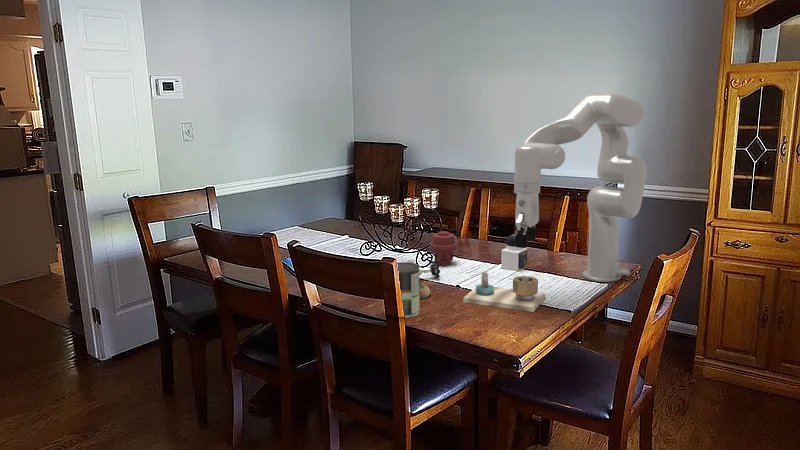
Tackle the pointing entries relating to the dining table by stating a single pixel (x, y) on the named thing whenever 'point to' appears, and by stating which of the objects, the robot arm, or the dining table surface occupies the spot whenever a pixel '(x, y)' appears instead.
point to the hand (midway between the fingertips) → (525, 243)
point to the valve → (432, 269)
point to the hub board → (502, 297)
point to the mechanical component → (443, 247)
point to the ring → (525, 286)
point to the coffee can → (409, 288)
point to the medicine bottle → (513, 255)
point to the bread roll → (423, 291)
